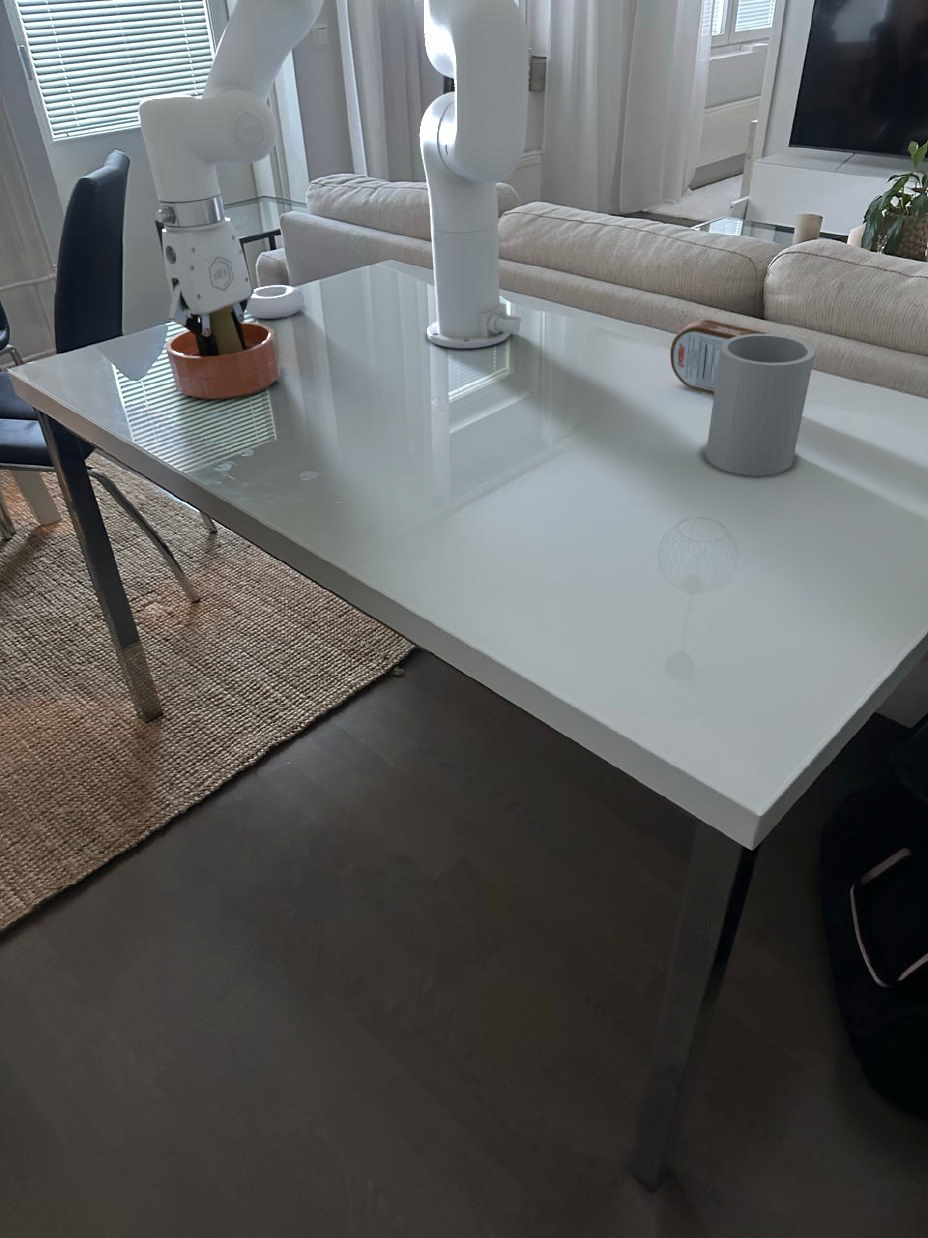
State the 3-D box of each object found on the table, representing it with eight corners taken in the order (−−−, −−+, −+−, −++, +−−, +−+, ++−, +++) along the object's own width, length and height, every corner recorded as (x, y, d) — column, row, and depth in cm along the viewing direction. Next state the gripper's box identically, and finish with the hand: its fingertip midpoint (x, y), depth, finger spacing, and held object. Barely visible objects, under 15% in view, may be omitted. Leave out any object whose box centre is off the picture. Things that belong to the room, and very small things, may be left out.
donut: (240, 323, 140) (300, 320, 139) (235, 302, 138) (296, 298, 137) (253, 304, 148) (310, 301, 147) (248, 284, 146) (306, 280, 145)
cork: (257, 365, 119) (241, 284, 113) (235, 381, 115) (217, 298, 108) (220, 362, 121) (202, 282, 115) (196, 378, 117) (176, 295, 110)
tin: (783, 404, 104) (796, 335, 99) (770, 412, 102) (783, 343, 97) (676, 377, 113) (683, 312, 108) (663, 384, 111) (669, 319, 106)
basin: (302, 373, 120) (295, 330, 116) (227, 410, 111) (217, 365, 107) (231, 356, 127) (223, 315, 123) (154, 390, 118) (143, 347, 114)
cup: (689, 455, 95) (702, 348, 87) (741, 431, 99) (758, 327, 92) (757, 484, 89) (777, 372, 81) (809, 457, 93) (833, 348, 86)
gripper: (159, 230, 99) (196, 382, 110) (262, 201, 109) (287, 342, 120) (118, 224, 102) (158, 372, 113) (222, 196, 113) (249, 334, 124)
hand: (224, 355), depth 117 cm, fingers closed on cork, 4 cm apart
